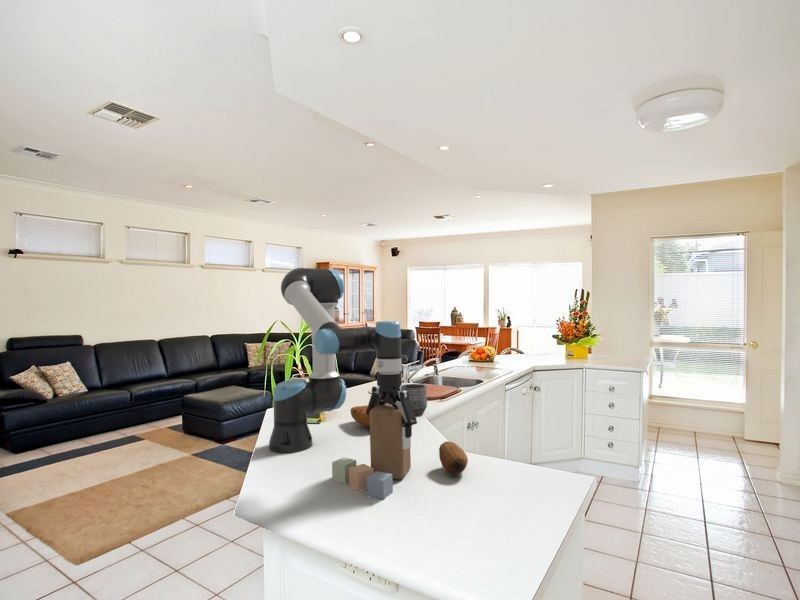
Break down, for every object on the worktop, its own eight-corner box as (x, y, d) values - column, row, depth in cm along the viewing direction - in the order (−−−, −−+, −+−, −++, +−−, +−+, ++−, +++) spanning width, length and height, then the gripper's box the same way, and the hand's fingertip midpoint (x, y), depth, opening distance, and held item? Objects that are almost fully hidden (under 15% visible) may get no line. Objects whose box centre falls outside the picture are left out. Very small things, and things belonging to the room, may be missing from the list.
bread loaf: (405, 429, 181) (405, 409, 181) (366, 435, 173) (365, 414, 173) (383, 417, 200) (383, 399, 201) (347, 422, 193) (347, 403, 193)
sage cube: (332, 479, 130) (332, 461, 130) (344, 473, 134) (343, 457, 134) (344, 483, 127) (344, 465, 127) (356, 477, 131) (356, 460, 131)
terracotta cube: (349, 485, 125) (348, 467, 125) (363, 481, 128) (363, 463, 128) (358, 491, 121) (358, 472, 121) (373, 486, 124) (373, 468, 124)
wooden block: (402, 481, 127) (401, 411, 127) (369, 478, 130) (368, 409, 130) (411, 468, 137) (409, 403, 137) (380, 466, 139) (379, 402, 140)
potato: (463, 488, 129) (442, 477, 126) (448, 462, 142) (429, 451, 139) (478, 468, 128) (458, 456, 126) (462, 443, 141) (443, 432, 139)
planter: (427, 416, 199) (427, 388, 199) (400, 417, 199) (400, 388, 200) (426, 410, 211) (426, 383, 212) (400, 410, 212) (400, 383, 212)
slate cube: (367, 496, 118) (366, 477, 118) (376, 489, 122) (376, 471, 122) (383, 500, 115) (383, 480, 115) (392, 492, 120) (392, 473, 120)
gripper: (354, 370, 140) (355, 437, 140) (409, 378, 122) (411, 455, 122) (372, 367, 145) (373, 432, 145) (428, 374, 127) (429, 449, 127)
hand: (390, 443), depth 133 cm, fingers closed on wooden block, 13 cm apart
